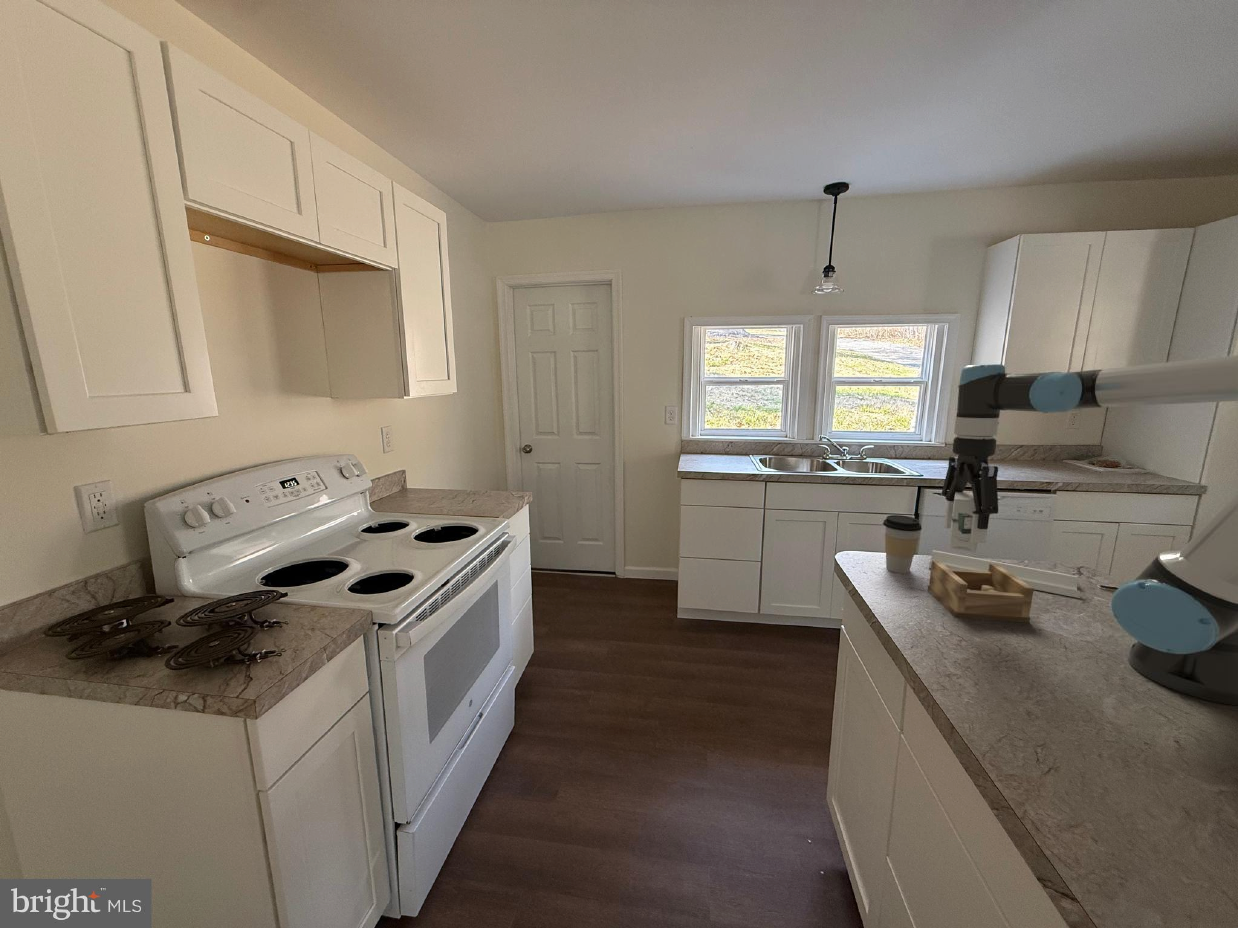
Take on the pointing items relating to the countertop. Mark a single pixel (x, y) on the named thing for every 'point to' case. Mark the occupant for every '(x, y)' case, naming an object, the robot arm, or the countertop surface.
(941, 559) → the crown molding
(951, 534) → the ink box
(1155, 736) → the countertop surface
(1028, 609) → the open wooden box
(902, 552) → the coffee cup
